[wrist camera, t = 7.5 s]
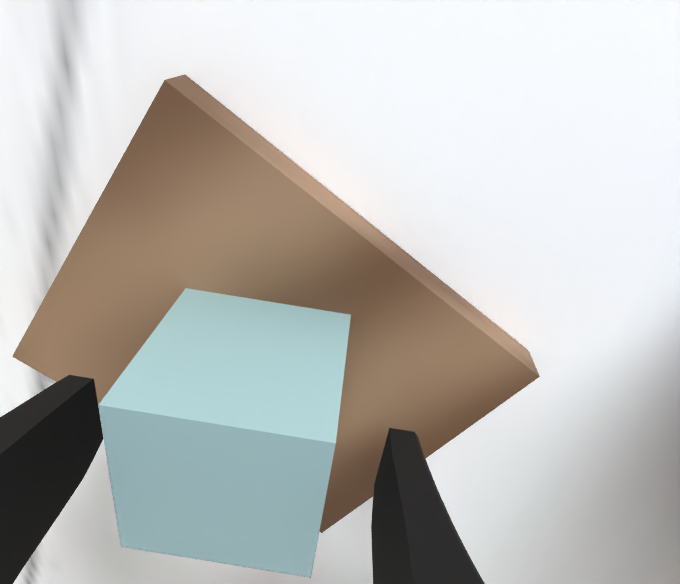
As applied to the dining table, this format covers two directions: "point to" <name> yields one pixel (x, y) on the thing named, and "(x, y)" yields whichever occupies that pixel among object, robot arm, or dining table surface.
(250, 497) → the teal cube
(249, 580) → the dining table surface
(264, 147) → the walnut board
